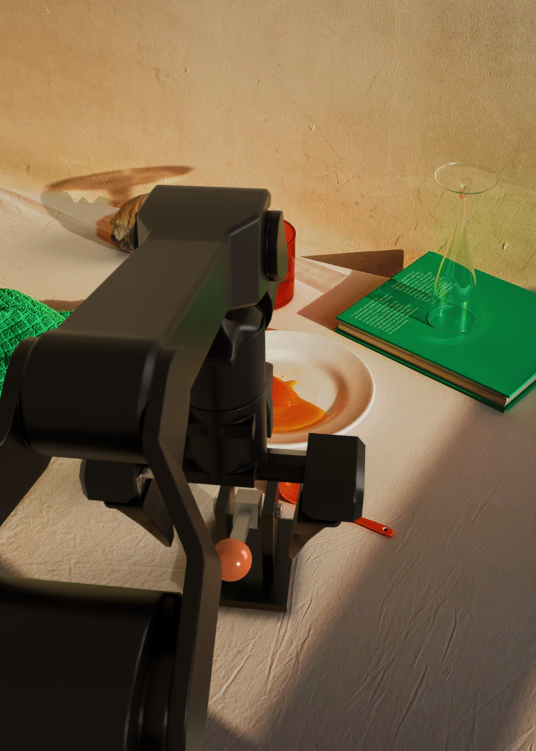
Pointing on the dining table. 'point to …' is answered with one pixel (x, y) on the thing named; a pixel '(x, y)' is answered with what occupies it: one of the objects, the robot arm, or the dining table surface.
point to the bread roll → (125, 222)
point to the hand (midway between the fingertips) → (230, 547)
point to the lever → (240, 535)
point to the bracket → (257, 554)
